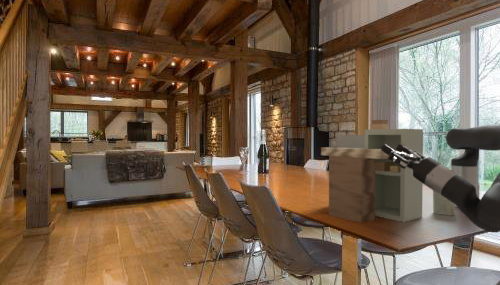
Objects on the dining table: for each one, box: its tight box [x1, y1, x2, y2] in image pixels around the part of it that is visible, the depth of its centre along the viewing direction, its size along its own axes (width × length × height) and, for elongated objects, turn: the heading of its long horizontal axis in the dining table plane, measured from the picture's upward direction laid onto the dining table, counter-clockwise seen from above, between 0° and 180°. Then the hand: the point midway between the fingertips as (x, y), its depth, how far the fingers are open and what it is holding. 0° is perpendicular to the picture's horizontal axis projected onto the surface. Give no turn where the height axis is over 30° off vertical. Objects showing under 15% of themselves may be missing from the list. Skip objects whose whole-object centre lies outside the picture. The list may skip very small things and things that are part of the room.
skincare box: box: [432, 190, 456, 216], centre depth 124 cm, size 6×4×12 cm
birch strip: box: [320, 146, 388, 159], centre depth 118 cm, size 26×4×3 cm, turn 35°
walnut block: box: [328, 156, 376, 224], centre depth 118 cm, size 8×14×22 cm, turn 35°
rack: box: [364, 119, 424, 223], centre depth 121 cm, size 12×16×36 cm
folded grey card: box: [336, 134, 365, 149], centre depth 139 cm, size 14×6×30 cm, turn 84°
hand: (390, 146), depth 106 cm, fingers open, 8 cm apart
